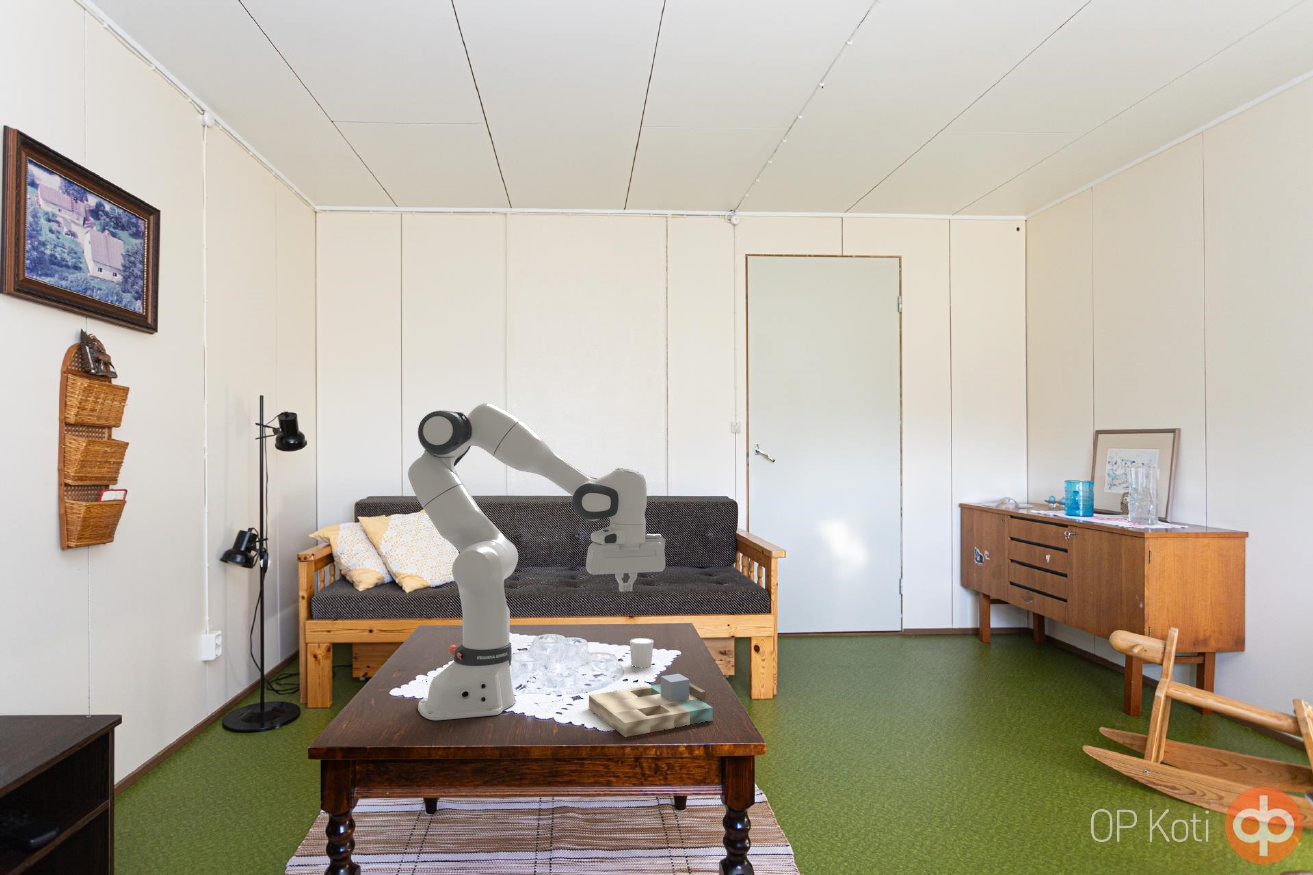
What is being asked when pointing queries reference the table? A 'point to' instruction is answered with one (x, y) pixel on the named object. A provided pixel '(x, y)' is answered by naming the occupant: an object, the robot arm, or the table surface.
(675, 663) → the table surface
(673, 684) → the slate block
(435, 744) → the table surface
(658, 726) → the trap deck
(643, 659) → the shot glass
